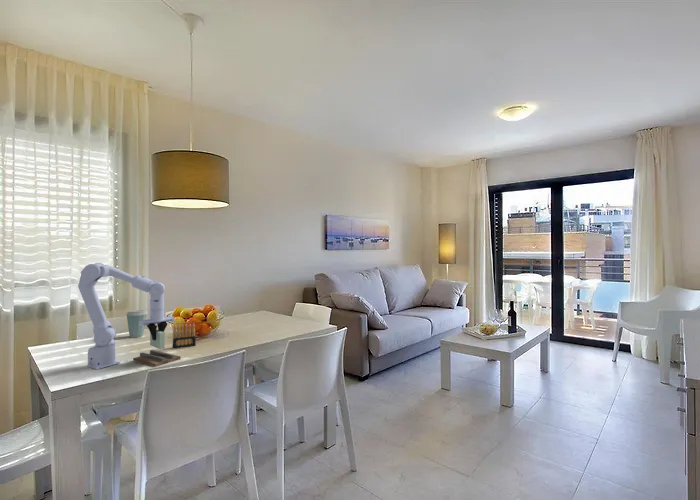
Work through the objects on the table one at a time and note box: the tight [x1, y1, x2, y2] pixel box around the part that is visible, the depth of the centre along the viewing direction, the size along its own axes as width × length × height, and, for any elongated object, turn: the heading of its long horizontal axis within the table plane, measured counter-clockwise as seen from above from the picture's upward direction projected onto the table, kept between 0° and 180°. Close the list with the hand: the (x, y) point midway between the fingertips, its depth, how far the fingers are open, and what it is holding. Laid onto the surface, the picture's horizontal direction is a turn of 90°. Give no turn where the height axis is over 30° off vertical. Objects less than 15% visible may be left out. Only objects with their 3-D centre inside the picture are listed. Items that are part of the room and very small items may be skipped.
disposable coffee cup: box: [125, 309, 149, 339], centre depth 204 cm, size 11×11×15 cm
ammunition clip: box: [172, 322, 197, 349], centre depth 185 cm, size 11×2×12 cm, turn 120°
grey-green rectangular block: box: [149, 329, 166, 350], centre depth 163 cm, size 2×10×7 cm, turn 51°
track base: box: [132, 349, 181, 368], centre depth 164 cm, size 12×16×3 cm
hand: (157, 339), depth 164 cm, fingers closed on grey-green rectangular block, 2 cm apart
